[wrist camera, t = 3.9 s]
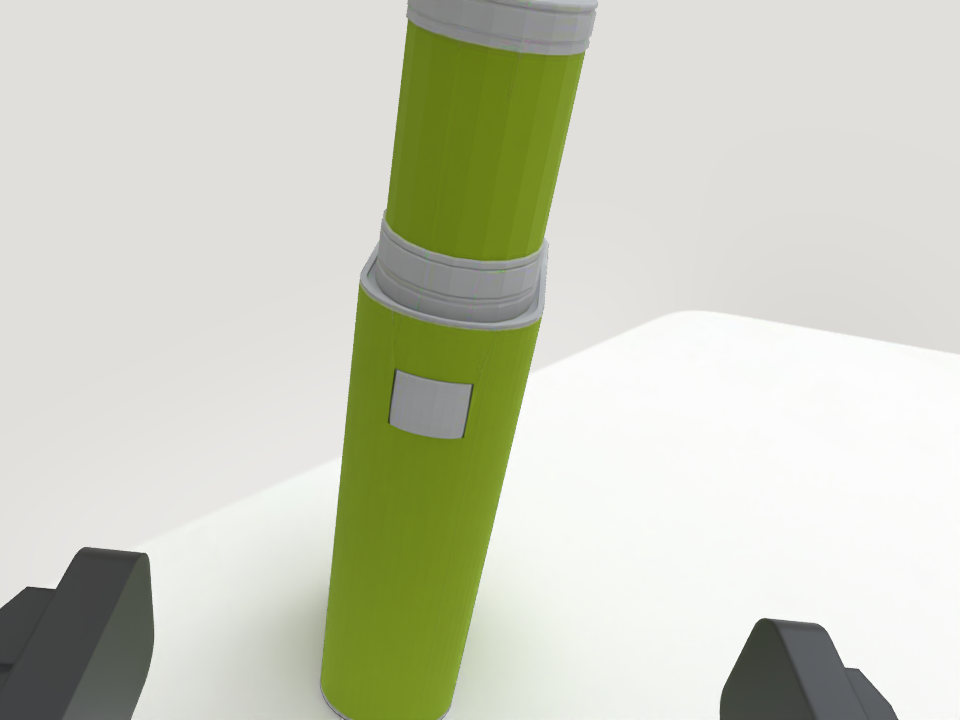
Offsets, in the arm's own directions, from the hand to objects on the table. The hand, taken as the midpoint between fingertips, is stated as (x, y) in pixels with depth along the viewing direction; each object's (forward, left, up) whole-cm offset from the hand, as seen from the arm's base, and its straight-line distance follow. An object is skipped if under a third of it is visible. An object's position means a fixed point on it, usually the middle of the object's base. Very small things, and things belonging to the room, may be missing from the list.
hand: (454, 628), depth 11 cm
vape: (+3, +8, -11) cm, 14 cm away
